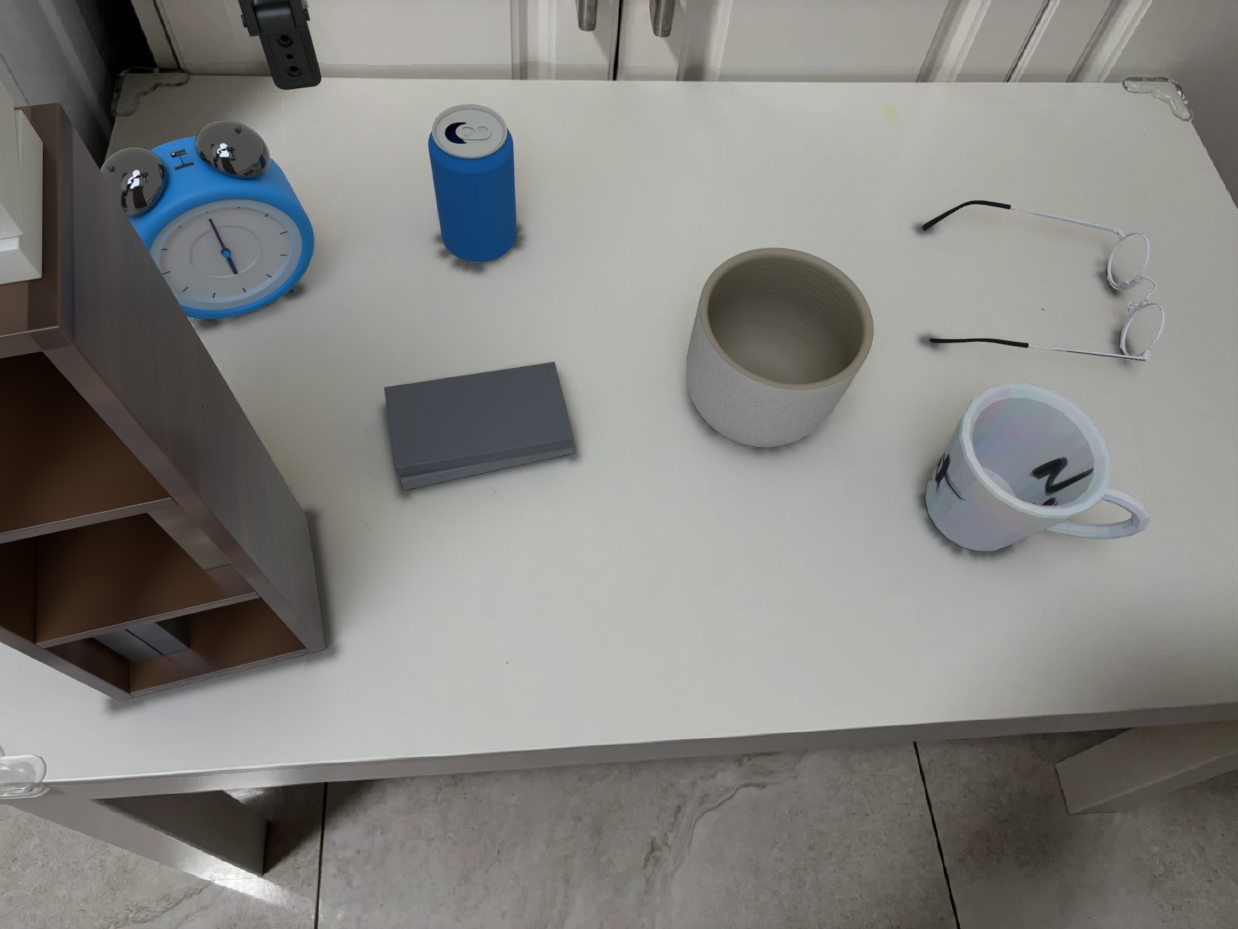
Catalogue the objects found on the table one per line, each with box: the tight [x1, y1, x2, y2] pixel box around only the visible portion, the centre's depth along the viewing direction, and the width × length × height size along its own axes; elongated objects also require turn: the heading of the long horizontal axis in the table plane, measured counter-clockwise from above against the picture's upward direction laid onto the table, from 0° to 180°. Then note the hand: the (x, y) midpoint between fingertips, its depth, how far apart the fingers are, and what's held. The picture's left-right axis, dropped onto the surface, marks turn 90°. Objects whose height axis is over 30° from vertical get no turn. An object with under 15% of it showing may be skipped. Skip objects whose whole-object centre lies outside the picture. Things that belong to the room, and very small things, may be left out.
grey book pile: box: [383, 361, 575, 491], centre depth 65 cm, size 13×8×3 cm, turn 106°
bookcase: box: [0, 101, 327, 702], centre depth 43 cm, size 13×10×36 cm
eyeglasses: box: [922, 199, 1166, 363], centre depth 75 cm, size 16×19×5 cm
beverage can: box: [427, 103, 518, 264], centre depth 70 cm, size 6×6×12 cm
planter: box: [685, 247, 875, 448], centre depth 65 cm, size 12×12×11 cm
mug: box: [925, 382, 1152, 552], centre depth 62 cm, size 10×15×10 cm
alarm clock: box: [99, 119, 315, 324], centre depth 64 cm, size 13×6×15 cm, turn 120°
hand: (289, 26), depth 43 cm, fingers open, 8 cm apart
